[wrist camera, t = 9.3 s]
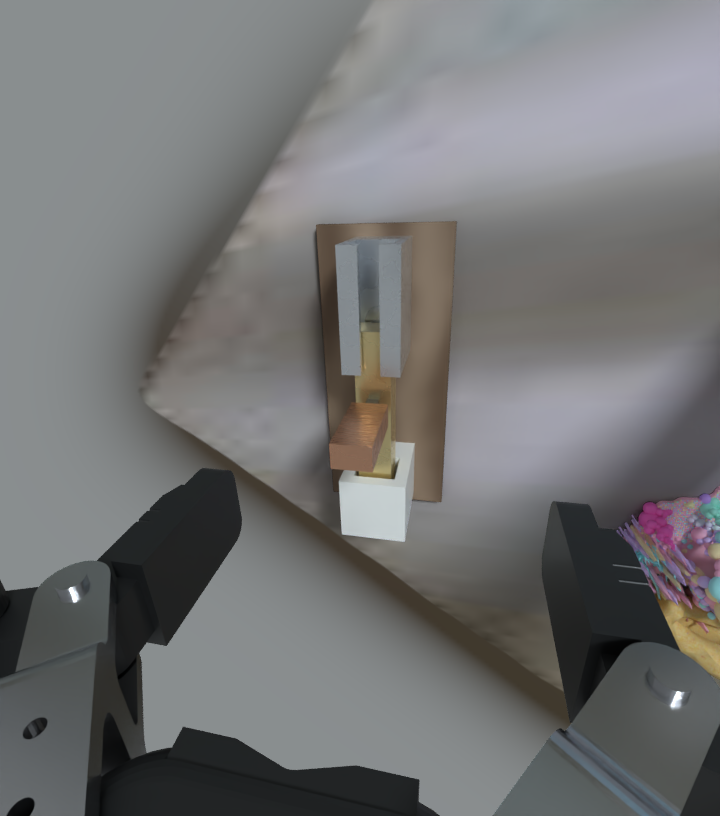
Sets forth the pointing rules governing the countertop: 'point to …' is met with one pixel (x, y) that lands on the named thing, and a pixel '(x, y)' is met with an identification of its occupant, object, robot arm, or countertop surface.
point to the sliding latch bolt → (368, 417)
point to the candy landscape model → (684, 570)
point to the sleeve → (375, 299)
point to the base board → (429, 345)
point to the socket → (379, 500)
